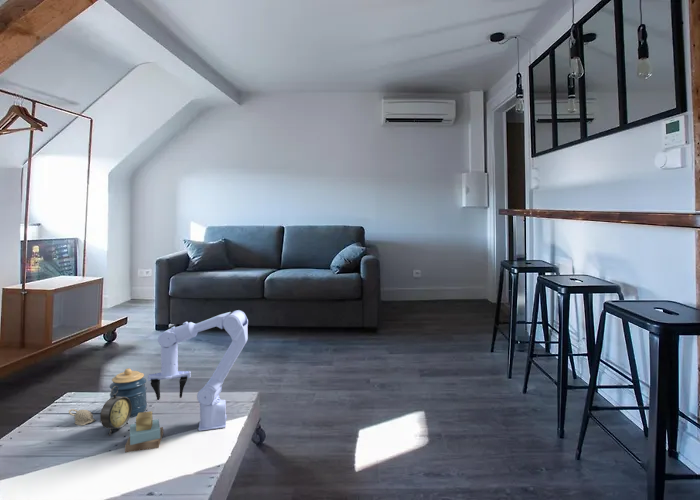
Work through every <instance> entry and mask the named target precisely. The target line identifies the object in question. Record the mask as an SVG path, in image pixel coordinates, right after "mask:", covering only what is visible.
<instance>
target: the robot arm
mask: <svg viewBox="0 0 700 500" xmlns="http://www.w3.org/2000/svg"><path fill="white" fill-rule="evenodd" d="M248 325H249V319H248V317H247V315H246V313H245V312H244V311H243V310H240V309H238V310H233V311H232V312H231V311H229V312H225V313H221V314H218V315H216V316H212V317H211V318H208V319H205V320H202V321H200V322H197V323H194V322H192V321H190V322H188V321H185V322H183V323H182V325H179V326H175V325H174V326H172V327H171V328H169V329H167V330H165V331H163V332H161V333H160V334H159V335H158V338H157V342H158V345H160V372H157V373H150V374H148V375H147V382H150V386H151V387H152V389H153V390H154V393H155V396H156V400H157V401H160V399H161V390H160V389H161V380H173V379H179V380H178V382H179V399H181V398H182V397H183V392H184V388H185V386H186V383H187V381H188V379H190V378H191V376H192V374H191V373H192V372H191V370H188V371H186V370H185V371H184V370H179V357H178V355H179V354H178V353H179V352H178V351H179V348H178V345H179V344H178V343H181V342H185V341H187V340H190V339H192V338H196V337H197V335H198V333H200V332H203V331H206V330H209V329H212V328H215V327H216V328H219V329H220V330H223V329H224V330H225V332H227V334H228V335H229V336H230V339H231V342H230V344H229V346H228V348H227V349H226V350H225V353H224V355H222V357H221V359H220V360H219V363H218V364H217V366H216V368H215V370H214V372H213V373H212V375H211V376H210V378H209V380H208V381H207V382H206V383H205V385H204V386H203V387H202V388H201V389H200V390H198V392H197V394H196V400H197V402H198V403H199V424H198V431H199V432H201V431H208V430H215V429H217V430H218V429H223V428H226V427H227V426H226V424H227V423H226V422H227V419H228V415H227V414H226V413H227V408H226V406H227V405H226V404H227V403H226V401H227V400H226V399H221V397H220V394H221V392H222V390H223V388H222V387H223V383H224V382H225V379H226V378H227V376H228V375H229V372H230V371H231V369H232V367H233V366H234V364H235V362H236V361H237V359H238V358H239V355H240V354H241V352H242V351H243V348H244V347H245V345H246V344H247V342H248V340H249V339H248V338H249V334H248V327H249V326H248Z"/></svg>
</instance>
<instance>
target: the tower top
mask: <svg viewBox="0 0 700 500" xmlns="http://www.w3.org/2000/svg"><path fill="white" fill-rule="evenodd" d="M160 427H161V426H160V419H159V418H157V419H153V424H152V427H151V429H149V430H142V431H136V423H132V424H129V436H130V445H133V444H138V443H142V442H146V441H151V440H155V439H160Z"/></svg>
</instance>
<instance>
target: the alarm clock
mask: <svg viewBox="0 0 700 500" xmlns="http://www.w3.org/2000/svg"><path fill="white" fill-rule="evenodd" d="M114 387H117V386H114ZM114 387H113V388H114ZM113 388H112V390H113ZM110 390H111V389H110ZM112 390H111V391H110V393H111V394H112ZM117 392H118V387H117ZM117 392H116V394H117ZM116 394H112V395H113V396H114V397H112V398H109V399H107V401H105V402H104V404H103V406H102V407H101V411H100V413H99V415H100V416H99V419H100V423H101V425H102V426H103V428H105V429H109V434H108V437H109V436H112V432H113V430H120V429H121V428H123V427H124V426H125V425H129V422H128V421H130V418H131V417H130V416H131V412H132V405H131V402H130V400H129V399H128V398H127V397H116Z"/></svg>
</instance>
